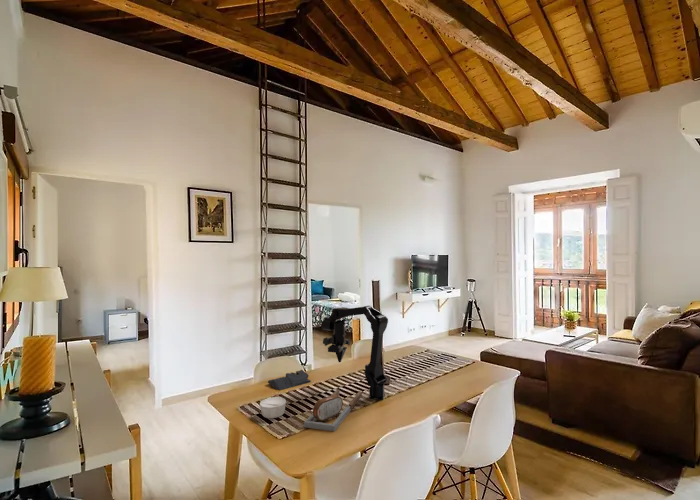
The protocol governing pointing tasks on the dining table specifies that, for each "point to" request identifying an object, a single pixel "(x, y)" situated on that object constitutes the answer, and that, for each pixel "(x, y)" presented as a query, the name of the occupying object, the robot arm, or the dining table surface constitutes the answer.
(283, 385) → the dark slate chunk
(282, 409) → the ramekin
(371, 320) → the robot arm
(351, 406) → the pair of brown bars
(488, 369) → the dining table surface
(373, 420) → the dining table surface
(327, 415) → the tin
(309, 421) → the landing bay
